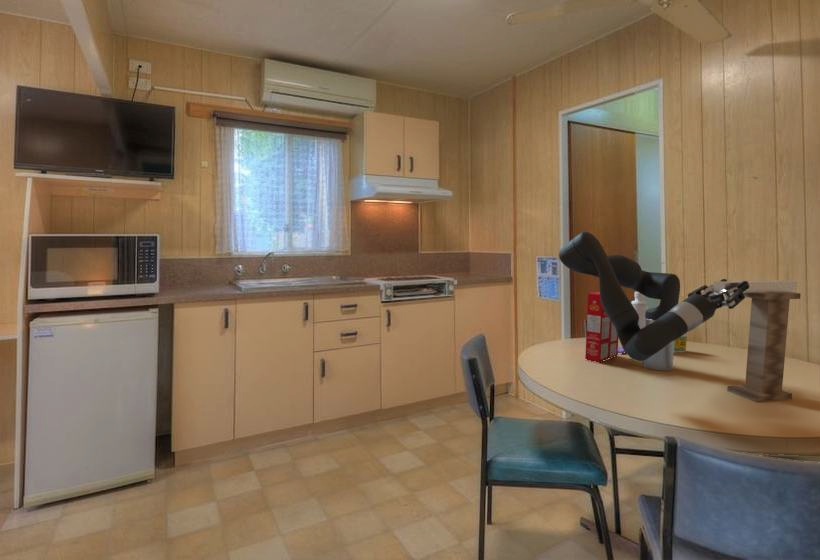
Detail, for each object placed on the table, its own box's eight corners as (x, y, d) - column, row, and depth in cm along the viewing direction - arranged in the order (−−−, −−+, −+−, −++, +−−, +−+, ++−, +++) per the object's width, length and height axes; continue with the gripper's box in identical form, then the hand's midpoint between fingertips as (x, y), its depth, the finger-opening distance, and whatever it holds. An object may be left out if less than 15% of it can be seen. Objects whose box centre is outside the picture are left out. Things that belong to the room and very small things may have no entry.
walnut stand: (756, 401, 121) (764, 294, 118) (727, 390, 130) (734, 290, 127) (791, 398, 123) (800, 293, 121) (760, 388, 132) (768, 289, 129)
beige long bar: (724, 293, 119) (724, 282, 119) (713, 292, 123) (713, 281, 122) (796, 292, 124) (797, 281, 123) (783, 290, 127) (784, 280, 127)
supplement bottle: (675, 348, 180) (677, 325, 180) (688, 351, 176) (690, 328, 175) (667, 350, 178) (668, 327, 177) (680, 353, 173) (681, 329, 172)
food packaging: (604, 353, 172) (606, 290, 170) (617, 356, 168) (620, 291, 166) (585, 360, 163) (588, 293, 161) (599, 363, 159) (602, 294, 157)
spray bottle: (644, 351, 176) (647, 289, 174) (626, 348, 181) (629, 288, 178) (647, 347, 182) (650, 288, 180) (629, 345, 186) (632, 287, 184)
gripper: (674, 320, 128) (719, 291, 129) (717, 330, 113) (766, 297, 115) (664, 298, 126) (709, 269, 128) (706, 306, 112) (756, 272, 114)
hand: (736, 282), depth 122 cm, fingers open, 5 cm apart
